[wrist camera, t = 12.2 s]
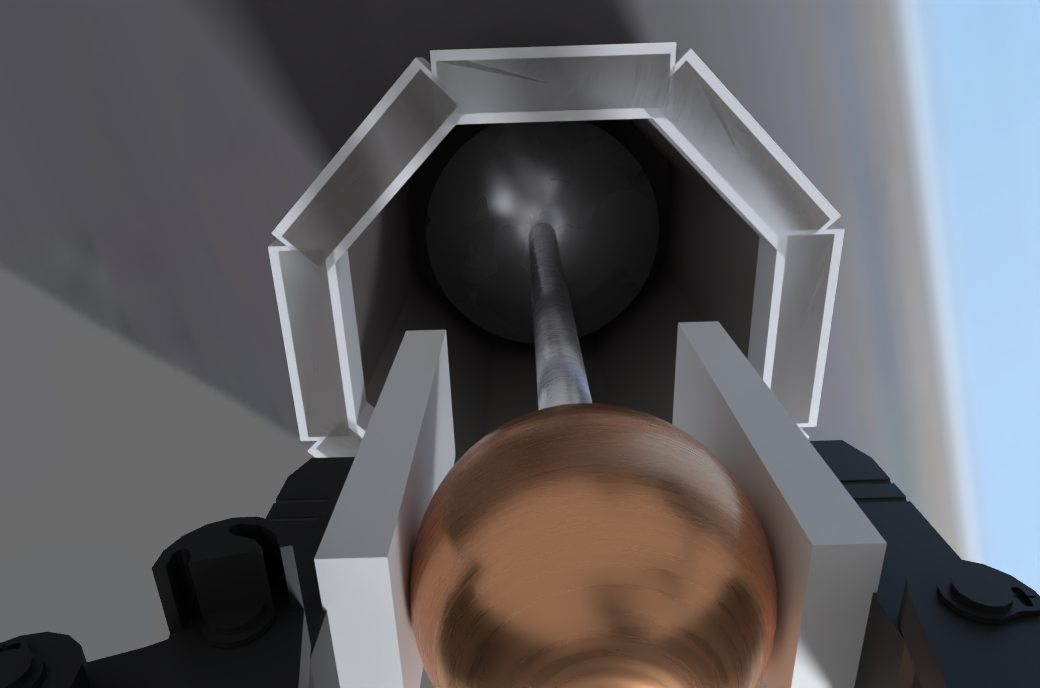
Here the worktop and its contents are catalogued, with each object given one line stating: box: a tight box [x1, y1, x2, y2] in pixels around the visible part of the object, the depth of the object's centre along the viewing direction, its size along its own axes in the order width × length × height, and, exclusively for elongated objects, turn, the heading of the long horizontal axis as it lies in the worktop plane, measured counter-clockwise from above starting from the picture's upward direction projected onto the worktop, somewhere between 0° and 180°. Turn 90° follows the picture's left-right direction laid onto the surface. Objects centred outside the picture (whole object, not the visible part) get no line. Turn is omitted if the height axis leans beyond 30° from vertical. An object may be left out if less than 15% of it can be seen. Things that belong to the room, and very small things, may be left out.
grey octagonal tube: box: [268, 42, 845, 465], centre depth 23 cm, size 16×12×14 cm
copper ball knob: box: [409, 120, 777, 688], centre depth 17 cm, size 8×8×21 cm
